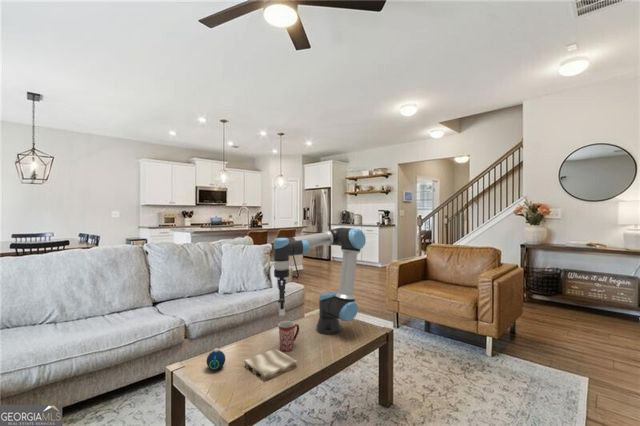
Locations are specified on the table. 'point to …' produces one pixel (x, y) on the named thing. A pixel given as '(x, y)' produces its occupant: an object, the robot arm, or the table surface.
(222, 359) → the christmas ornament
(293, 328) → the mug
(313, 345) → the table surface
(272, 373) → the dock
